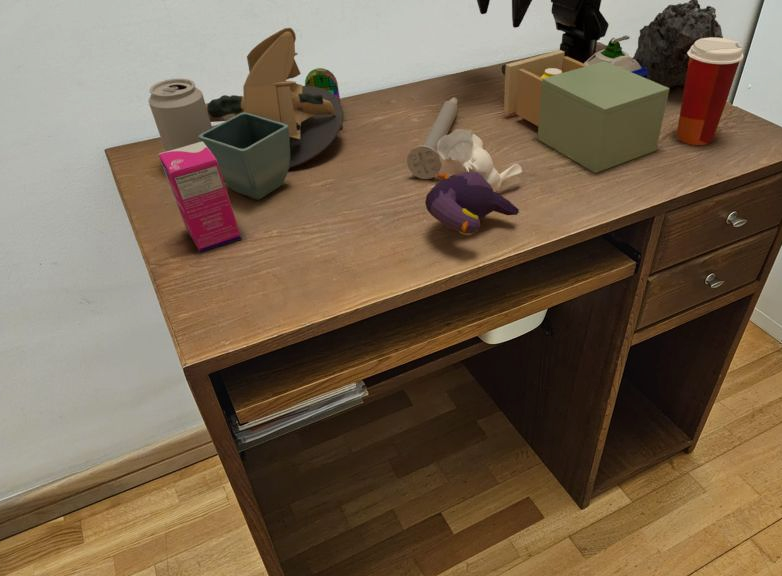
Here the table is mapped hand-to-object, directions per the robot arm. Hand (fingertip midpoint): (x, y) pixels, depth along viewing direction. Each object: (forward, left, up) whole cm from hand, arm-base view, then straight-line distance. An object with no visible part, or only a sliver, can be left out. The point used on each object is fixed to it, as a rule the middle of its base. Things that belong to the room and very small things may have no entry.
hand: (499, 20), depth 109 cm
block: (+33, -7, -12) cm, 35 cm away
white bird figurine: (+26, +27, -4) cm, 37 cm away
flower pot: (+49, +9, -12) cm, 52 cm away
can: (+54, -4, -12) cm, 56 cm away
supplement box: (+59, +17, -12) cm, 62 cm away
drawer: (0, +13, -11) cm, 17 cm away
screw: (+21, +9, -11) cm, 26 cm away
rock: (-26, +17, -12) cm, 33 cm away
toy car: (-15, +13, -12) cm, 23 cm away
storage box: (0, +26, -12) cm, 29 cm away
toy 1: (+41, -2, -9) cm, 42 cm away
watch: (0, +15, -10) cm, 18 cm away
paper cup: (-14, +33, -12) cm, 38 cm away
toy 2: (+27, +27, -8) cm, 39 cm away
